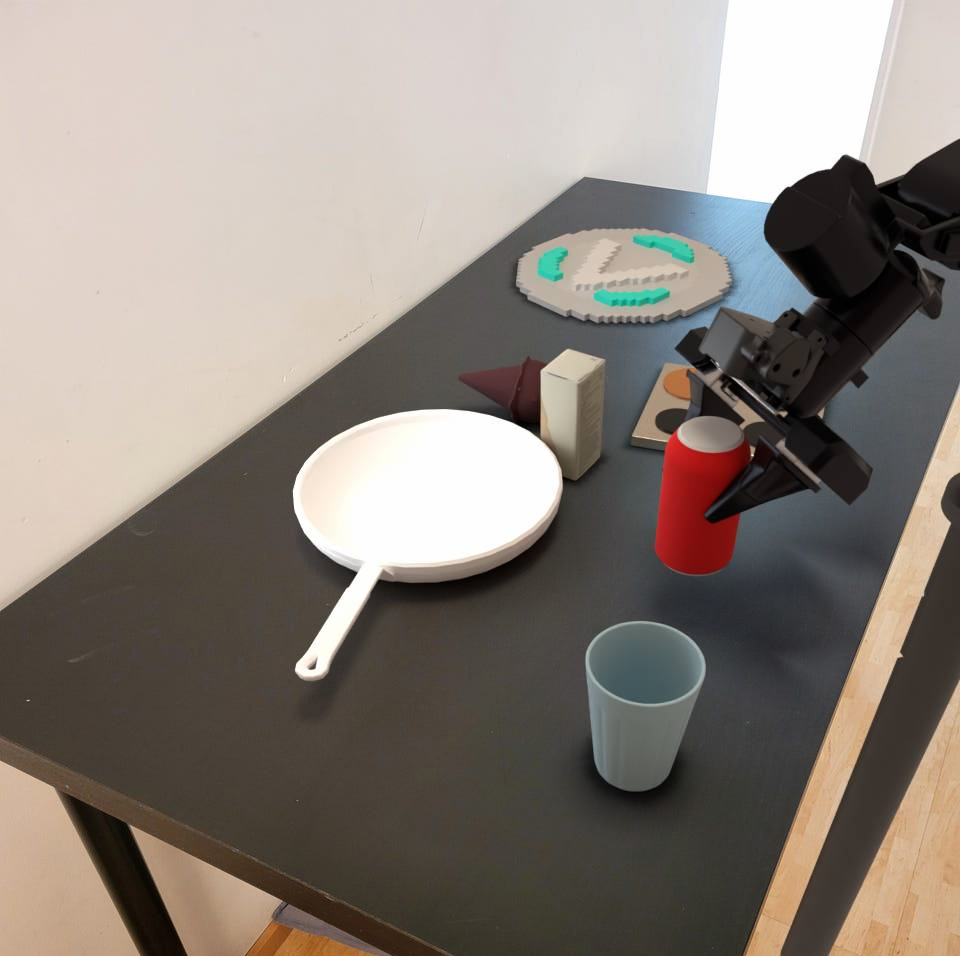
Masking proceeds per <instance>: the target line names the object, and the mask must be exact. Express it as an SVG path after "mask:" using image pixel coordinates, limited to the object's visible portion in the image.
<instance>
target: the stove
mask: <svg viewBox="0 0 960 956" xmlns="http://www.w3.org/2000/svg"><path fill="white" fill-rule="evenodd" d="M687 369H689V370H690V371H691V372H692V373H694V372H695V371H696V370H697V369H696V368H695V367H694V366H693V365H686V364H678V363H670V362H665V363H664V365H663V367H662V369H661V371H660V373H659V376H658V378H657V380H656V382H655V384H654V386H653V389H652V391H651V393H650V395H649V398H648V400H647V402H646V404H645V406H644V409H643V410H642V412H641V414H640V417H639V419H638V421H637V422H636V423H637V424H636V426H635V428H634V429H633V432H632V434H631V438H630V439H631V440H630V446H632V447H638V448H644V449H651V450H655V451H662V452H665V449H666V445H667V443H668V441H669V439H670V437H671V436H672V435H673V433H674V432H675V431H676V430H677V429H678V427H679V426H680V425H681V424H682V423H683V422H684V419H685V417H686V414H687V411H688V408H689V405H690V400H691V396H690V381H689V378H687V377H686V372H687ZM759 396H760V397H761V398H762V399H764V400H766V399H767V398H768V397H766V396H765V395H764V394H763V393H761V394H760V395H759ZM738 401H739V402H738V403H737V405H736V406H735V407H734V408H733V409H734V410H735V411H736V412H737V413H738V414H739V415H740V416H741V417H742V418H744V419H745V421H744V422H743V423H742V424H741V425H740V426H739V427H740V428H741V429H742V430H743V432H744V434H745V436H746V438H747V440H748V442H749V445H750V449H751V460H752V458H753V455H754V451H755V448H756V444H757V440H758V436H759V435H760V434H761V435H762V436H763V437H765V438H766V439H767V440H768V441H769V442H770V443H771V444H772V445H773V446H775V445H776V444H777V443H778V442H779V441H780V440H781V439H784V438H783V437H782V436H781V435H780V434H779V433H778V432H777V431H775V430H774V429H773V428H772V427H771V426H770V425H769V424H768V423H766V422H765V421H764V420H763V419H762V418H761V417H760V416H758V415H757V414H756V413H755V412H754V411H753V410H752V409H750V408H749V407H748V406H747V405H746V404H745V403H744V402H742V401H741V400H738ZM825 408H826V406H825V407H824V408H823V409H822V410H821V411H820V412H819V413H818V415H819V416H820V417H821V418H822V419H823V418H824V413H825ZM778 412H779V413H780V414H781V415H782V416H783V417H785V416H786V415H787V412H786V411H785V410H784V409H783V408H782V407H781V408H780V409H779V410H778ZM823 420H824V419H823ZM751 460H750V461H751Z"/></svg>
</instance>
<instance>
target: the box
mask: <svg viewBox="0 0 960 956" xmlns="http://www.w3.org/2000/svg"><path fill="white" fill-rule="evenodd" d="M547 364H548V365H547V366H546V367H545V368H543V369H542V370H541V421H540V440H541V441H543V442H544V443H545V444H546V445H547V447H548V448H549V449H550V450H551V451H552V453H553V454H554V455H555V457H556V459H557V461H558V464H559V466H560V468H561V472H562V478H566V479H568V480H572V481H577V480H578V479H580V478H581V477H582V476H583V475H584V474H585V473H586V472H587V471H588V470H589V469H590V468H591V467H592V466H593V465H594V464H595V463H596V462H597V461H598V460H599V459H600V458H601V451H602V449H601V448H602V433H603V431H602V430H603V414H604V398H605V397H604V395H605V394H604V393H605V378H606V377H605V374H606V359H605V358H601V357H597V356H594V355H590V354H587V353H584V352H581V351H577V350H574V349H571V348H567V349H565V350H564V351H563V352H562V353H560V354H559V355H557V357H555V358H554V359H553V360H551V361H550V362H549V363H547Z"/></svg>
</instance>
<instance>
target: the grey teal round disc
mask: <svg viewBox="0 0 960 956" xmlns="http://www.w3.org/2000/svg"><path fill="white" fill-rule="evenodd" d="M730 270H731V268H729V261H728V257H725V256H722V252H719V251H718V250H717V251H716V250H714V249H712V246H711V245H709V244H705V243H704V242H700V241H698V240H694V239H691V238H689V237H686V236H683V235H680V234H677V233H675V232H669V233H667V232H664V231H661V230H658V229H653V230H651V229H648V228H644V227H642V228H640V229H639V228H637V227H634V228H629V227H627V228H624V229H623V228H620V227H618V228H616V229H615V228H612V227H611V228H609V229H608V228H605V227H603V228H601V229H600V228H593V229H591V230H586V229H583V230H581V231H578V232H576V233H573V234H571V233H570V232H567V233H566V234H563V235H560V236H558V237H555V238H553V239H549V240H547V241H545V242H542V243H540V244H537V245H535V246H532V247H531V250H530V251H528V252H525V253H523V254H522V257H521V258H519V259H518V262H517V270H516V271H517V272H516V279H515V286H516V288H519V292H520V293H522V294H523V295H526V296H527V301H530V302H533V303H535V304H537V305H539V306H541V307H543V308H546V309H548V310H550V311H552V312H554V313H556V314H559V315H561V316H563V317H565V318H567V317H569V316H572V317H574V318H576V319H578V320H580V321H583V322H586V321H592V322H594V323H596V324H601V323H602V322H603V323H606V324H609V323H611V322H612V323H614V324H618V323H620V322H622V323H623V324H627V323H633V324H636V323H639V322H640V323H642V324H646V323H648V322H649V323H651V324H656V323H657V322H660V321H662V320H663V321H665V322H669V321H671V320H673V319H675V318H677V317H680V316H681V317H683V318H686V317H688V316H690V315H692V314H694V313H696V312H698V311H701V310H703V309H704V308H706V307H709V306H711V305H713V304H715V303H717V302H719V301H722V299H723V295H725V294H726V293H729V292H730V287H733V279H732V277H733V276H732V275H731V274H732V272H731V271H730Z"/></svg>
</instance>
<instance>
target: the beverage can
mask: <svg viewBox="0 0 960 956" xmlns="http://www.w3.org/2000/svg"><path fill="white" fill-rule="evenodd" d="M750 460H751V449H750V445H749V442H748V440H747V438H746V436H745V434H744V432H743V430H742V429H741V428H740V427H739V426H738V425H737V424H735V423H734V422H732V421H730V420H727V419H724V418H721V417H714V416H702V417H697V418H693V419H690V420H688V421H686V422H684V423H682V424H681V425H680V426H679V427H678V429H677V430H676V431H675V432H674V433H673V435H672V436H671V437H670V439H669V441H668V443H667V445H666V449H665V451H664V459H663V466H662V469H663V472H662V477H661V486H660V495H659V505H658V515H657V522H656V523H657V524H656V533H655V542H654V550H655V553H656V555H657V557H658V559H659V560H660V562H661V563H662V564H663V565H665V566H666V567H667V568H669V569H670V570H672V571H674V572H676V573H678V574H680V575H685V576H692V577H704V576H711V575H713V574H716V573H718V572H720V571H722V570H724V569H725V568H726V567H727V566H728V565H729V563H730V562H731V560H732V558H733V555H734V551H735V545H736V539H737V534H738V529H739V524H740V519H741V513H739V514H737V515H734V516H732V517H729V518H727V519H724V520H722V521H720V522H717V523H715V524H711V523H709V522H708V521H707V520H706V519H705V518H704V514H705V513H706V511H707V510H708V509H709V507H710V506H711V505H712V503H713V502H714V501H715V500H716V498H717V497H718V496H719V495H720V494H721V493H722V492H723V491H724V490H725V489H726V488H727V486H728V485H729V484H730V483H731V482H732V481H733V480H734V479H735V478H736V477H737V476H738V474H739V473H740V472H741V471H742V470H743V469H744V468H745V467H746V466H747V465H748V464H749V463H750Z"/></svg>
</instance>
